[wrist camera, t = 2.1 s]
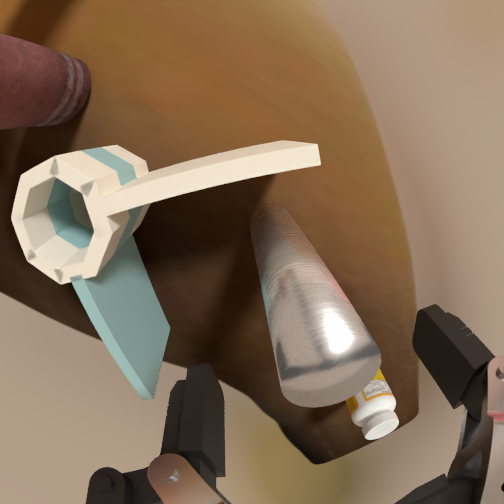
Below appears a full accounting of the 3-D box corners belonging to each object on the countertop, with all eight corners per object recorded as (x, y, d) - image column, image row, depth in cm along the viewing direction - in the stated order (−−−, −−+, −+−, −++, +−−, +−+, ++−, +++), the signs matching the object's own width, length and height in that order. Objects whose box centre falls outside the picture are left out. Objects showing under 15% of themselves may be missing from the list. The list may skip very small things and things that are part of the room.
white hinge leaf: (69, 164, 19) (1, 187, 11) (275, 103, 19) (305, 82, 11) (93, 238, 22) (40, 289, 14) (292, 189, 22) (328, 224, 14)
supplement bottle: (362, 349, 30) (394, 411, 21) (382, 365, 32) (411, 420, 23) (327, 376, 31) (350, 439, 22) (350, 389, 33) (373, 445, 24)
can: (43, 137, 18) (-79, 164, 5) (38, 75, 15) (-75, 65, 3) (97, 115, 18) (-34, 117, 5) (92, 49, 16) (-20, 3, 3)
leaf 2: (69, 164, 19) (1, 187, 11) (139, 136, 19) (85, 140, 11) (135, 333, 26) (111, 399, 18) (198, 323, 26) (189, 396, 18)
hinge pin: (245, 208, 22) (273, 354, 8) (287, 199, 22) (385, 323, 8) (253, 248, 24) (287, 415, 9) (294, 239, 24) (376, 390, 9)
